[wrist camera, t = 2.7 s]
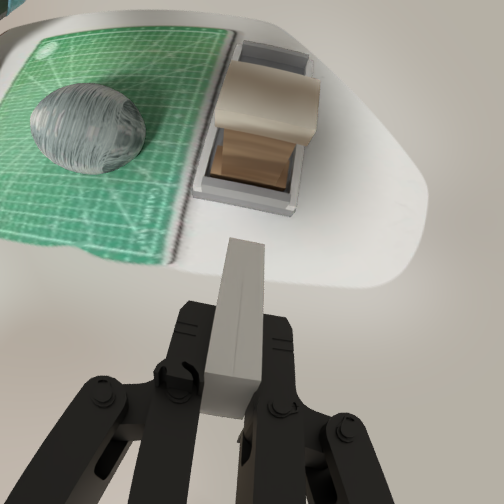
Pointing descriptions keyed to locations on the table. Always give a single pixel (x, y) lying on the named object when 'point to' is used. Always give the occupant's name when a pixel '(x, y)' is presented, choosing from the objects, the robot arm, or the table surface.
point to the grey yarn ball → (88, 128)
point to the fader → (263, 123)
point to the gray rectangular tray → (203, 182)
